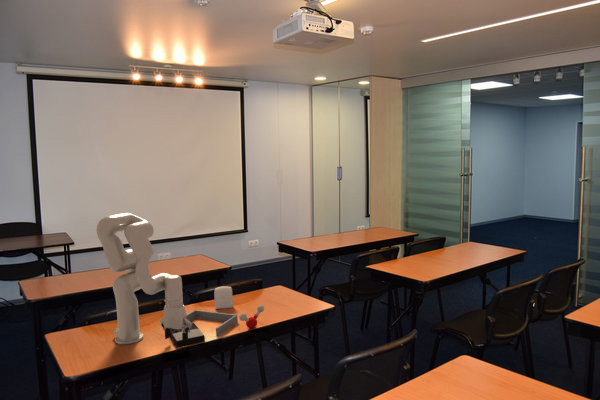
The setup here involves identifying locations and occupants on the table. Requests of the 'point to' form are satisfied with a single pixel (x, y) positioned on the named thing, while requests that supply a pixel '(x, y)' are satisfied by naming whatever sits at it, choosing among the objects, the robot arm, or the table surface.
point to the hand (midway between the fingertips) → (176, 339)
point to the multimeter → (193, 336)
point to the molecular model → (251, 321)
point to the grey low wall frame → (228, 318)
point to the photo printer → (223, 297)
